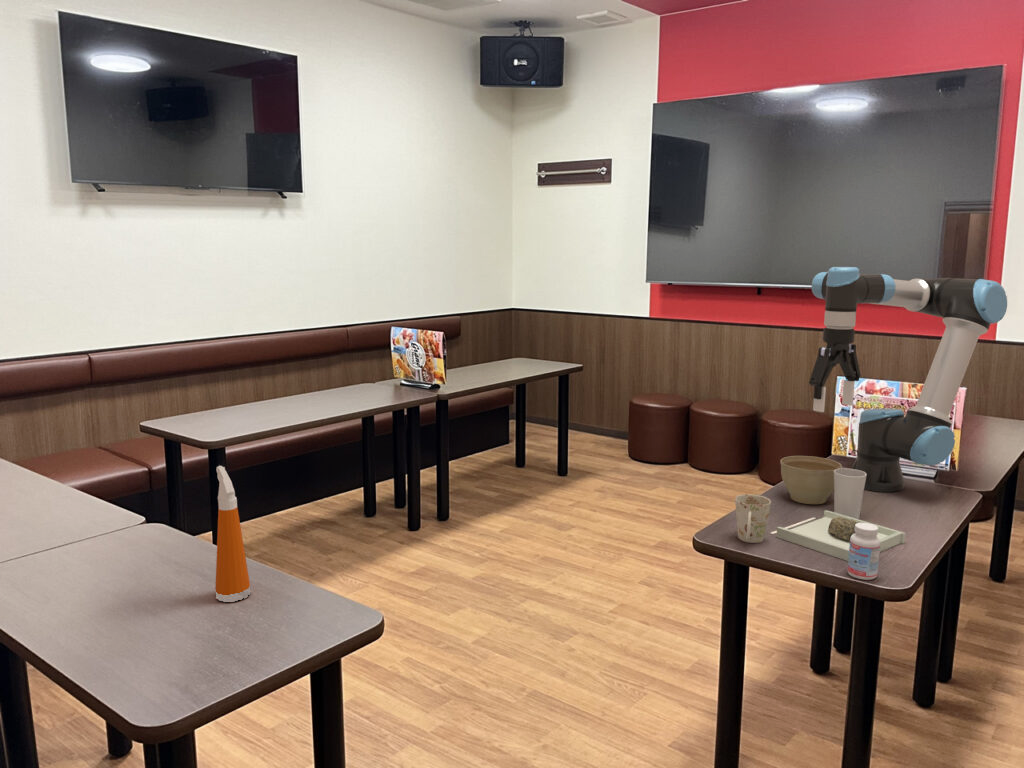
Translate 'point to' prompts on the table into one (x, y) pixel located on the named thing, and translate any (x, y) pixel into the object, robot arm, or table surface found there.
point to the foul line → (795, 524)
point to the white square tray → (825, 542)
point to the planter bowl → (808, 478)
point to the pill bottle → (864, 552)
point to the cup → (848, 491)
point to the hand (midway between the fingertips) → (833, 408)
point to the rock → (842, 528)
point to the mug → (752, 517)
